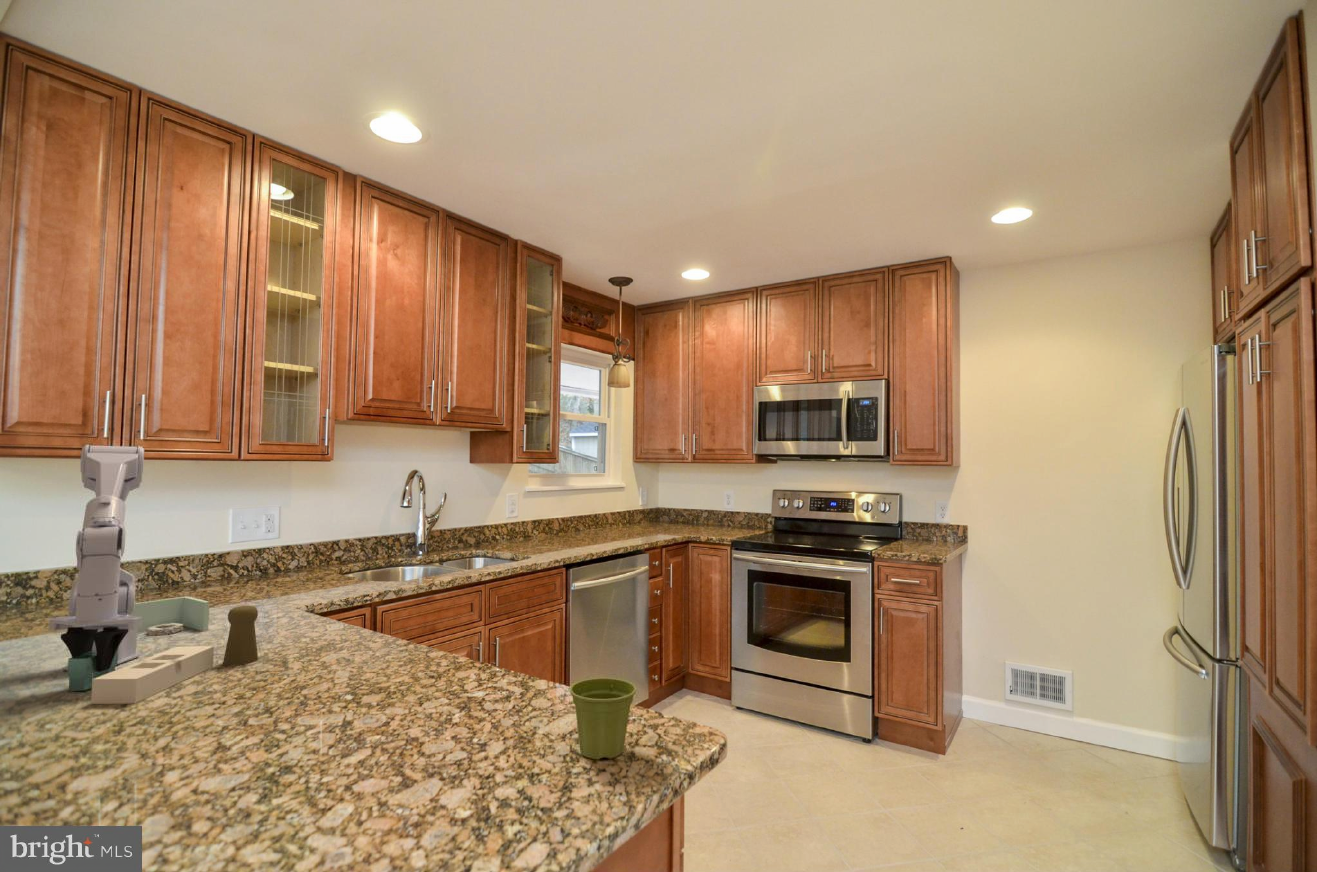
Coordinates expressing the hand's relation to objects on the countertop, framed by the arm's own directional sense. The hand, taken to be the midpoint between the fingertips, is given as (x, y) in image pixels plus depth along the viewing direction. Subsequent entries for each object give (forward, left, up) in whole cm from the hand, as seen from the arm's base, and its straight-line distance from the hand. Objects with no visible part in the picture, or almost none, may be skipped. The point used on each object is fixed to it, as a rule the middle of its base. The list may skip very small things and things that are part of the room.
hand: (93, 670), depth 113 cm
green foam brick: (0, 0, -3) cm, 2 cm away
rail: (-1, +11, -3) cm, 11 cm away
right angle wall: (-39, -14, -4) cm, 42 cm away
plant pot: (+30, +92, -3) cm, 97 cm away
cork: (-15, +17, -3) cm, 23 cm away
